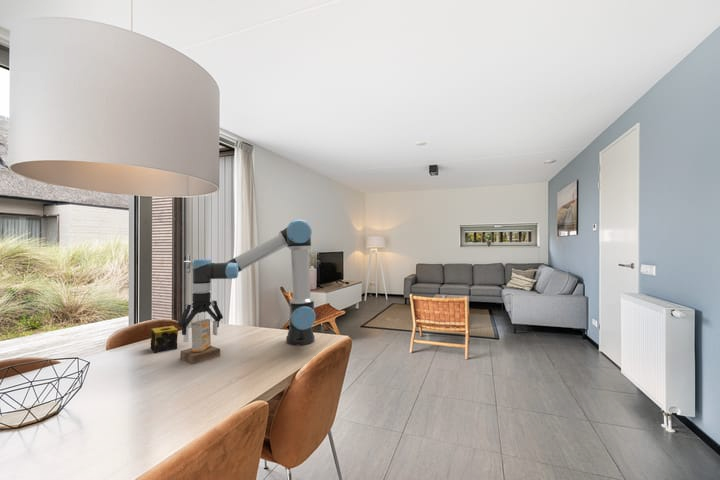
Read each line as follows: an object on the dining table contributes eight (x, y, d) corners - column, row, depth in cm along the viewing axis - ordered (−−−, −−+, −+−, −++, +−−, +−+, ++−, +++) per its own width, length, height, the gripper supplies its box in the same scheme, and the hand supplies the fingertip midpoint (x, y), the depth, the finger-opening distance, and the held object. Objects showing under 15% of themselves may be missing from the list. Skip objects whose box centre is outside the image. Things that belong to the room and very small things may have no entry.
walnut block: (220, 357, 145) (220, 348, 145) (194, 365, 135) (194, 356, 135) (206, 352, 151) (206, 344, 151) (180, 359, 141) (180, 350, 142)
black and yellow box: (150, 348, 155) (150, 328, 156) (173, 344, 162) (173, 325, 162) (153, 353, 148) (154, 332, 148) (177, 349, 155) (178, 329, 155)
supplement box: (202, 351, 139) (201, 322, 140) (191, 352, 139) (190, 323, 140) (211, 346, 148) (210, 318, 148) (201, 346, 148) (200, 319, 148)
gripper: (222, 288, 156) (221, 330, 156) (169, 294, 136) (168, 343, 135) (230, 289, 152) (230, 333, 151) (177, 296, 131) (176, 346, 131)
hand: (201, 338), depth 143 cm, fingers open, 13 cm apart
